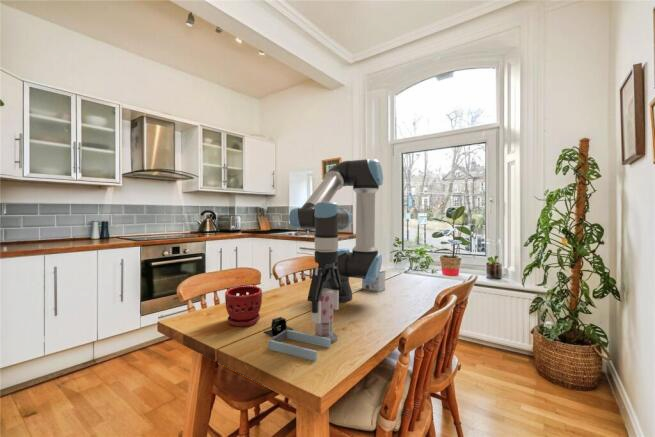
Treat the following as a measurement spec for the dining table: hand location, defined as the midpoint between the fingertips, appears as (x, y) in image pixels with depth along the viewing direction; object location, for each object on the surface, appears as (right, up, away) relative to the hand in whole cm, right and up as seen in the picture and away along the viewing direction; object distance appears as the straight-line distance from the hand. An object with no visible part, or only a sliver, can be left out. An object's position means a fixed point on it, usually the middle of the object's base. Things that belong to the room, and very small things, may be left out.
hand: (325, 315), depth 96 cm
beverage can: (-1, -7, 0) cm, 7 cm away
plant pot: (-30, -7, +13) cm, 34 cm away
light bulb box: (+25, -6, +62) cm, 67 cm away
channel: (-8, -8, -7) cm, 13 cm away
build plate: (-16, -8, +6) cm, 19 cm away
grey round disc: (0, -7, 0) cm, 7 cm away
